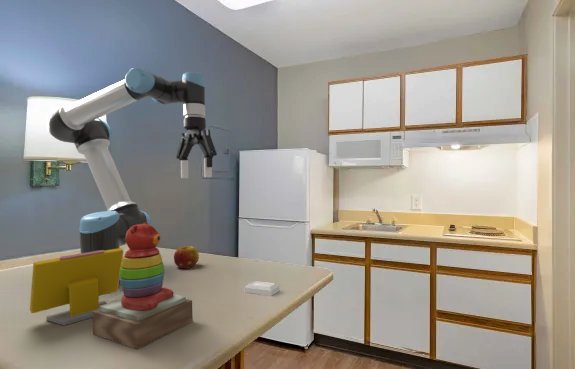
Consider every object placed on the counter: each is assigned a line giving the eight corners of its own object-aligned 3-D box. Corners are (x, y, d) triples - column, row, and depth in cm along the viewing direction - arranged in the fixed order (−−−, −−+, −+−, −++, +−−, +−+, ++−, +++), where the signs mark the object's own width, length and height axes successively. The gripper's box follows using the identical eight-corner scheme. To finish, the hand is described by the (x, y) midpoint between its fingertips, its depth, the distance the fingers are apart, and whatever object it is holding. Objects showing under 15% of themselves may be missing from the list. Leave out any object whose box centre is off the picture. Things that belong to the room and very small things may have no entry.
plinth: (92, 334, 75) (92, 307, 75) (150, 310, 88) (149, 287, 88) (137, 349, 67) (136, 319, 67) (192, 321, 80) (192, 296, 80)
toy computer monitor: (116, 300, 96) (114, 245, 96) (129, 306, 91) (127, 248, 91) (30, 324, 81) (28, 258, 81) (40, 333, 76) (38, 263, 76)
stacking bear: (149, 311, 71) (147, 227, 71) (108, 309, 73) (105, 226, 73) (177, 294, 82) (175, 220, 81) (139, 292, 84) (137, 220, 84)
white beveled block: (271, 297, 97) (271, 287, 97) (244, 293, 101) (244, 284, 101) (279, 291, 102) (278, 283, 102) (253, 288, 105) (253, 280, 105)
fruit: (168, 269, 130) (168, 248, 130) (182, 263, 139) (182, 244, 139) (190, 270, 127) (190, 249, 127) (203, 264, 136) (203, 245, 136)
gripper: (226, 114, 115) (227, 176, 115) (183, 123, 131) (184, 178, 131) (208, 110, 109) (209, 176, 109) (165, 120, 125) (167, 178, 125)
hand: (196, 177), depth 120 cm, fingers open, 13 cm apart
